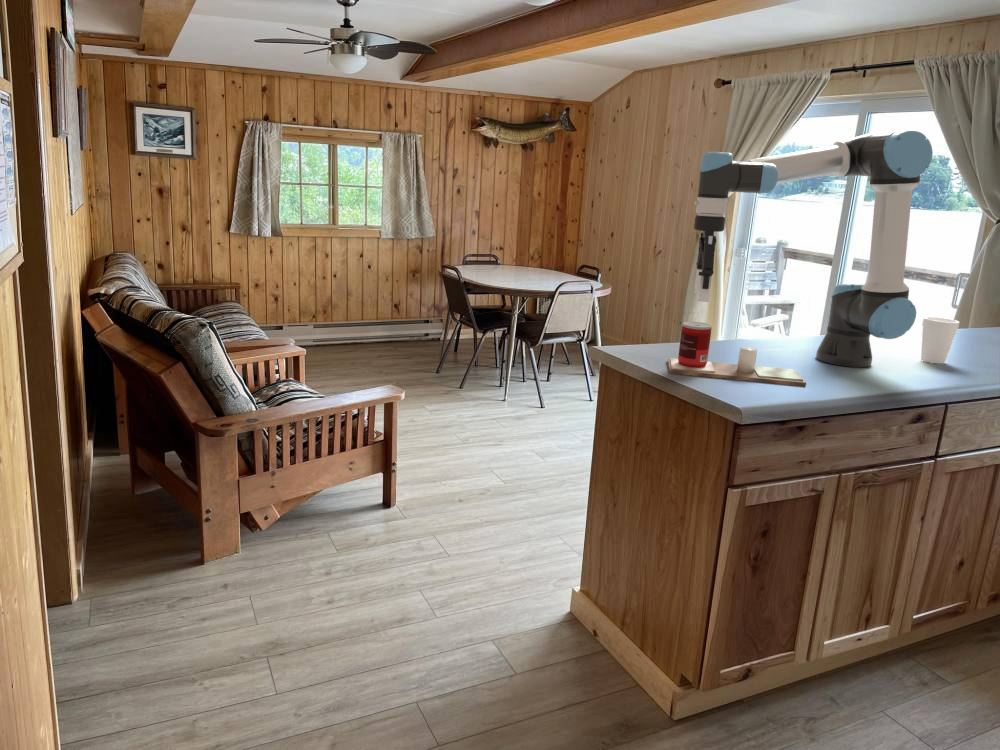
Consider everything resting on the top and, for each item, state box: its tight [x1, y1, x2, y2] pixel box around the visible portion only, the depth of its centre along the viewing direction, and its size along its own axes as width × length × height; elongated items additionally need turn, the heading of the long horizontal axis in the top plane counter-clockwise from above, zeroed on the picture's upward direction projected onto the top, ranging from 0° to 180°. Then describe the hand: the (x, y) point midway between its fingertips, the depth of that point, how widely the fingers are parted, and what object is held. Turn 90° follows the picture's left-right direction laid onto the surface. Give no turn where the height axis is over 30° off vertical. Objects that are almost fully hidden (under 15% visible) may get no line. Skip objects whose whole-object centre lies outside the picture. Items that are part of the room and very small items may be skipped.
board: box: [667, 357, 807, 387], centre depth 199 cm, size 34×14×1 cm, turn 80°
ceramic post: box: [737, 346, 758, 373], centre depth 197 cm, size 4×4×6 cm
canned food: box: [677, 321, 712, 368], centre depth 199 cm, size 8×8×11 cm
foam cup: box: [920, 316, 960, 364], centre depth 226 cm, size 10×9×13 cm
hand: (701, 297), depth 196 cm, fingers open, 13 cm apart
